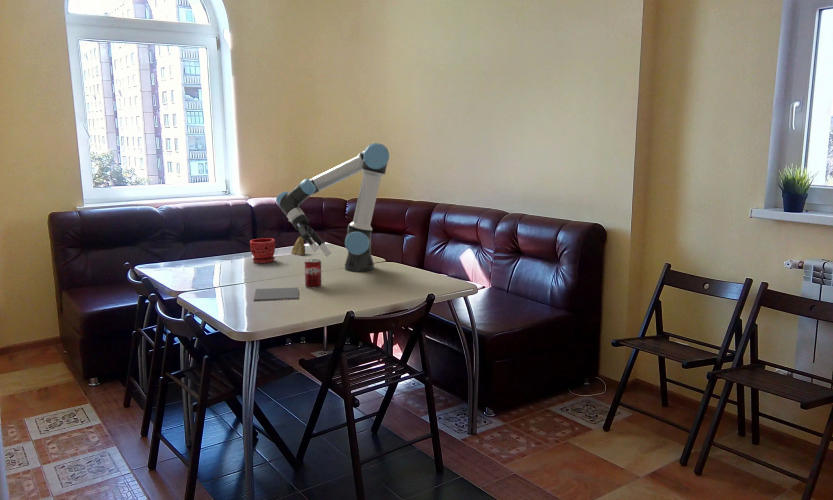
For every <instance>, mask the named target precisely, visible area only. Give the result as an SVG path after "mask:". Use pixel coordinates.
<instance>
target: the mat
mask: <svg viewBox="0 0 833 500" xmlns="http://www.w3.org/2000/svg"><path fill="white" fill-rule="evenodd" d="M283 299H288V300H299V299H300V298H299V287H298V286H297V287H276V288H275V287H273V288H272V287H271V288H256V289H255V291H254V298H253V301H254V302H262V301H261V300H265V301H282V300H283Z"/></svg>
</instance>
